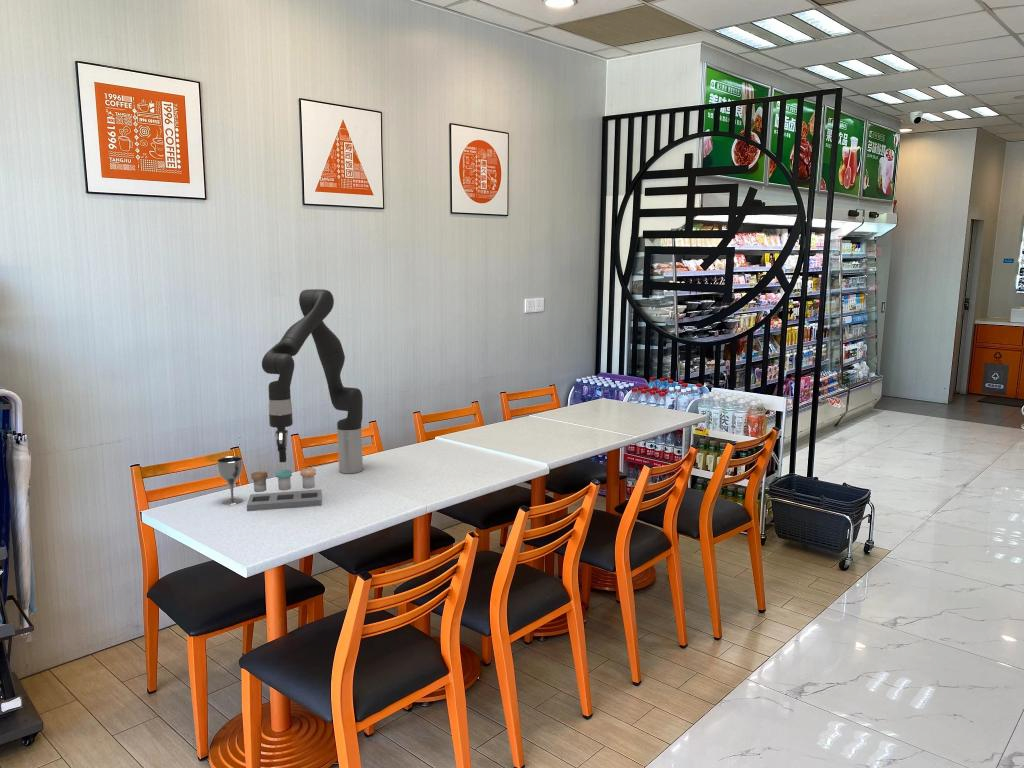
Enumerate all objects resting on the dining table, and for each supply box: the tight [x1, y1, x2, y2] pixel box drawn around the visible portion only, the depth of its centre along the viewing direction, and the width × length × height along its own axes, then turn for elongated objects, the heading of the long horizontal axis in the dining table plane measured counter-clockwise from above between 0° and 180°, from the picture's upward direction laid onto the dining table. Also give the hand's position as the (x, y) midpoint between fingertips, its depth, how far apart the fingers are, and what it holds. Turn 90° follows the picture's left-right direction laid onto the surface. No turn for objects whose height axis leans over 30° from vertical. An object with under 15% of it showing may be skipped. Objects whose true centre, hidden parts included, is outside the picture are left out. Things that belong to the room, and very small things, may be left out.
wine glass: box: [217, 455, 244, 506], centre depth 265 cm, size 8×8×15 cm
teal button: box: [275, 469, 293, 491], centre depth 263 cm, size 5×5×6 cm
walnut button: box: [250, 470, 268, 493], centre depth 262 cm, size 5×5×6 cm
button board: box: [246, 489, 322, 512], centre depth 265 cm, size 12×24×2 cm, turn 103°
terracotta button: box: [299, 467, 317, 490], centre depth 265 cm, size 5×5×6 cm
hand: (283, 461), depth 262 cm, fingers closed
